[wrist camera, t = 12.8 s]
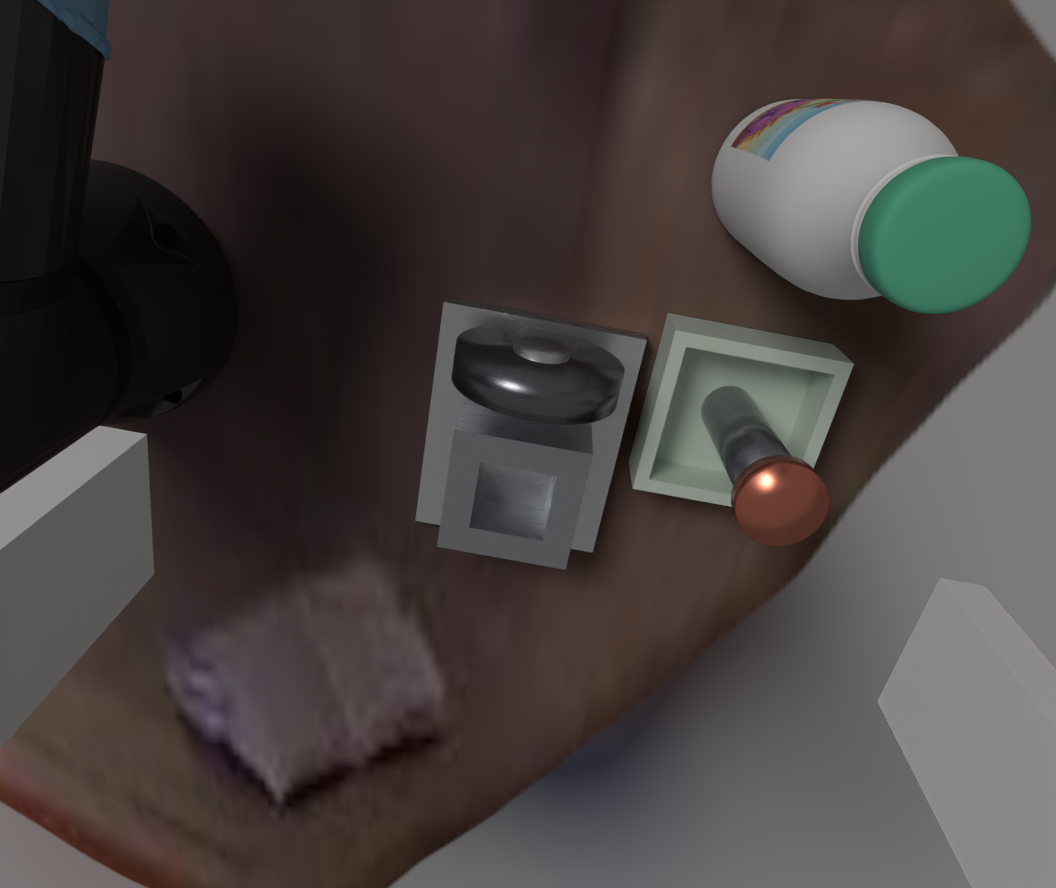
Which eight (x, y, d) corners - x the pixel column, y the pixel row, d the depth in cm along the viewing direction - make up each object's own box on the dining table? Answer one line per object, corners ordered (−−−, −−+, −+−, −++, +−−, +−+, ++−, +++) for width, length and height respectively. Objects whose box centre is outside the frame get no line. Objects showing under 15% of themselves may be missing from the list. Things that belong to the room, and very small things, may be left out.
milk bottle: (828, 260, 42) (1025, 383, 24) (693, 238, 42) (787, 344, 23) (876, 111, 38) (1147, 123, 20) (730, 87, 38) (872, 76, 20)
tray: (628, 462, 48) (632, 488, 44) (667, 313, 43) (675, 330, 40) (779, 489, 48) (794, 518, 45) (833, 344, 44) (854, 363, 40)
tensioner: (418, 511, 50) (384, 604, 41) (446, 296, 44) (413, 349, 34) (592, 542, 50) (596, 642, 41) (645, 333, 44) (664, 396, 35)
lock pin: (685, 435, 46) (725, 538, 35) (702, 372, 44) (751, 458, 33) (751, 447, 46) (812, 552, 35) (771, 384, 44) (842, 474, 33)
